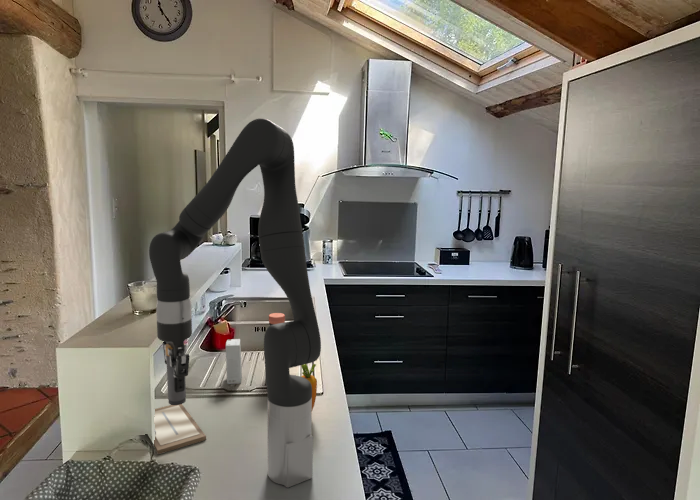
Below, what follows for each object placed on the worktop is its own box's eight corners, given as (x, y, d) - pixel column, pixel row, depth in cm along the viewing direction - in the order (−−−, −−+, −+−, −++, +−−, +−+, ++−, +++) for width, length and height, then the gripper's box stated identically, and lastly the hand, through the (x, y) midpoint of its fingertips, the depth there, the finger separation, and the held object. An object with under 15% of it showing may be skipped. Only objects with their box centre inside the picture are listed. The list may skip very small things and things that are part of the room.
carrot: (316, 412, 129) (317, 359, 126) (316, 422, 124) (316, 367, 121) (298, 412, 129) (298, 359, 126) (296, 422, 124) (297, 366, 121)
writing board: (206, 439, 115) (205, 432, 114) (157, 454, 108) (156, 447, 108) (180, 405, 131) (180, 399, 130) (136, 417, 124) (136, 410, 124)
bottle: (276, 370, 155) (276, 310, 152) (292, 375, 152) (292, 314, 148) (261, 377, 150) (260, 315, 147) (277, 383, 146) (277, 319, 143)
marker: (188, 402, 113) (187, 346, 111) (170, 407, 111) (168, 349, 108) (183, 395, 116) (181, 340, 114) (165, 400, 114) (163, 343, 112)
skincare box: (241, 383, 145) (240, 345, 143) (226, 384, 144) (225, 346, 142) (242, 375, 151) (241, 338, 149) (227, 376, 150) (226, 338, 148)
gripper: (200, 323, 107) (202, 395, 109) (181, 307, 118) (183, 373, 121) (165, 328, 102) (168, 404, 105) (149, 311, 114) (152, 379, 117)
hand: (176, 387), depth 113 cm, fingers closed on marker, 4 cm apart
